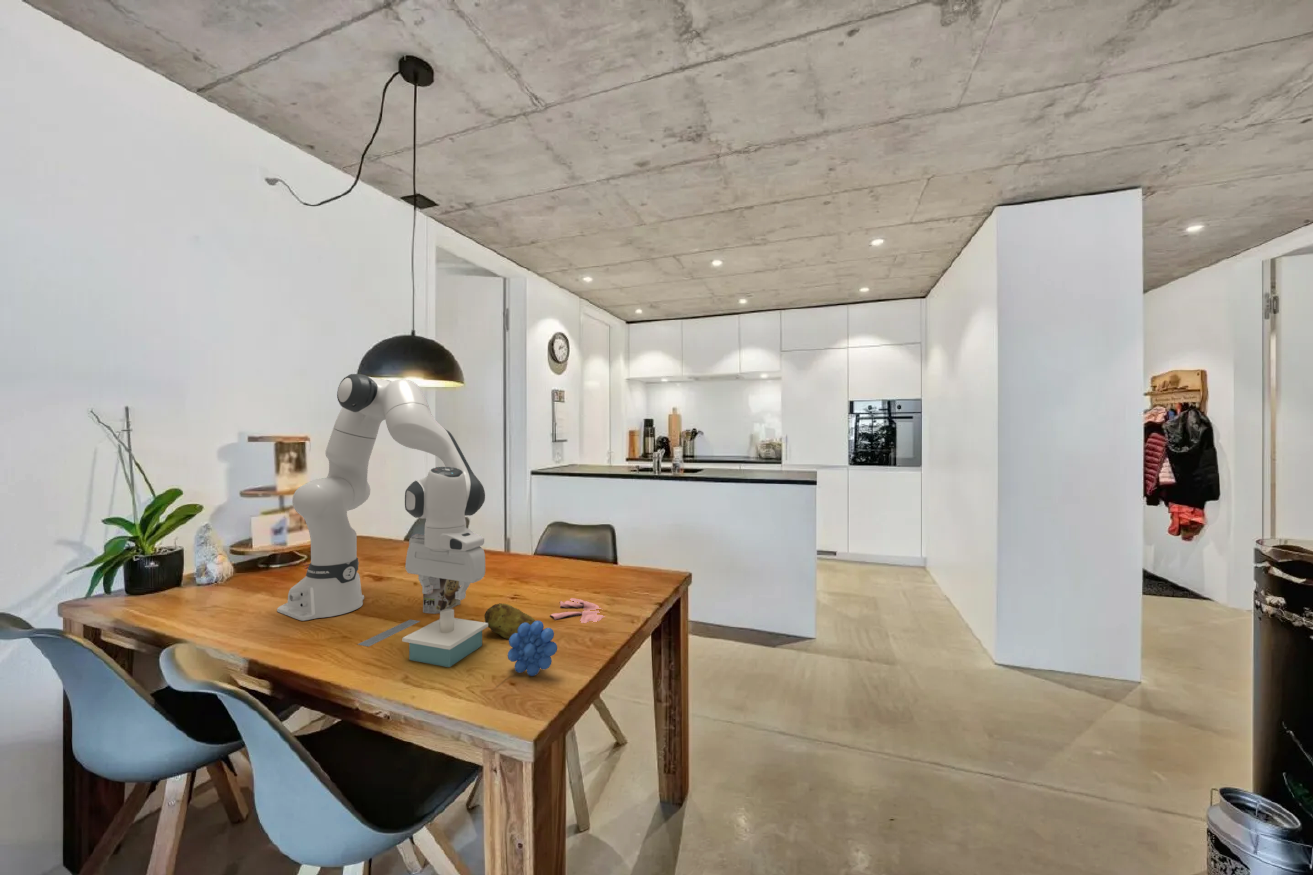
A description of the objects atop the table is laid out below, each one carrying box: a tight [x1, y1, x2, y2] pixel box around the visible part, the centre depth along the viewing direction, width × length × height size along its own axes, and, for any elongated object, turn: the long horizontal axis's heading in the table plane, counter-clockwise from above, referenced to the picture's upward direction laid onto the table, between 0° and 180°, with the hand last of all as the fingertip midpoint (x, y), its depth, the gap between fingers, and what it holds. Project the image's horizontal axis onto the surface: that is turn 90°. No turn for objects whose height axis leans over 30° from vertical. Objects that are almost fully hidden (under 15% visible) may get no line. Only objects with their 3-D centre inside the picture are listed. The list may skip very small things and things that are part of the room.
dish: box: [408, 630, 483, 668], centre depth 109 cm, size 11×11×5 cm
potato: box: [484, 603, 536, 640], centre depth 119 cm, size 8×13×8 cm, turn 67°
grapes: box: [507, 619, 558, 677], centre depth 101 cm, size 12×7×12 cm, turn 75°
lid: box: [401, 608, 489, 650], centre depth 109 cm, size 13×13×5 cm
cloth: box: [549, 597, 605, 624], centre depth 137 cm, size 20×22×2 cm
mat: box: [356, 619, 421, 648], centre depth 118 cm, size 16×16×1 cm
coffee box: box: [422, 577, 461, 615], centre depth 137 cm, size 9×6×16 cm
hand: (443, 596), depth 108 cm, fingers open, 8 cm apart
